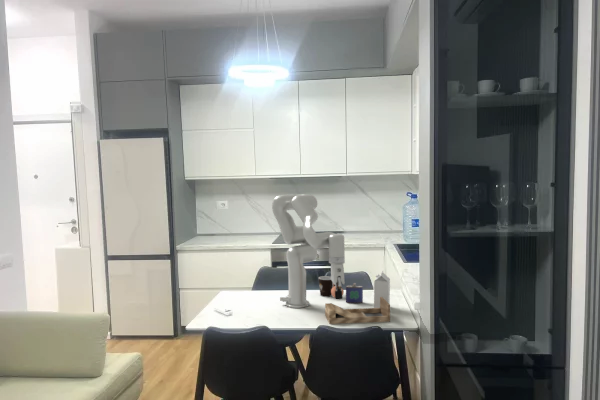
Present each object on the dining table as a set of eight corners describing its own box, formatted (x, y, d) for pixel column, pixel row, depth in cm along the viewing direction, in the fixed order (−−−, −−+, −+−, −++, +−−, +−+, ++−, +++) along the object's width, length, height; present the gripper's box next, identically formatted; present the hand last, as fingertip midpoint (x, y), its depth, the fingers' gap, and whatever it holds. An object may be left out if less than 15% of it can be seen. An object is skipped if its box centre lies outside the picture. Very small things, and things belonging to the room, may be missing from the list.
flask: (362, 301, 226) (362, 282, 226) (363, 303, 223) (363, 284, 223) (345, 301, 227) (345, 282, 226) (345, 303, 224) (345, 283, 223)
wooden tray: (329, 324, 193) (329, 307, 193) (325, 314, 206) (325, 299, 205) (389, 321, 196) (390, 304, 196) (381, 312, 209) (382, 297, 208)
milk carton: (389, 306, 218) (390, 271, 216) (387, 311, 211) (388, 274, 210) (376, 305, 220) (376, 270, 219) (373, 309, 213) (374, 273, 212)
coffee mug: (317, 293, 243) (317, 276, 242) (332, 292, 244) (332, 275, 243) (320, 299, 231) (320, 281, 231) (335, 298, 232) (335, 281, 232)
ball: (344, 299, 196) (344, 286, 196) (332, 300, 195) (332, 287, 195) (342, 296, 202) (342, 283, 202) (330, 296, 201) (329, 284, 201)
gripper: (348, 263, 190) (348, 302, 190) (340, 256, 207) (341, 292, 208) (332, 263, 189) (332, 302, 190) (325, 256, 206) (326, 292, 207)
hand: (337, 296), depth 199 cm, fingers closed on ball, 6 cm apart
